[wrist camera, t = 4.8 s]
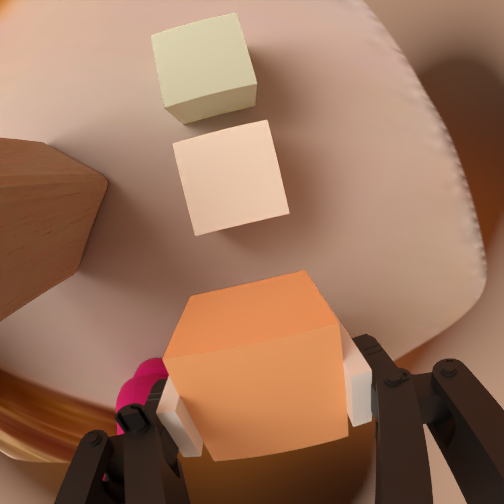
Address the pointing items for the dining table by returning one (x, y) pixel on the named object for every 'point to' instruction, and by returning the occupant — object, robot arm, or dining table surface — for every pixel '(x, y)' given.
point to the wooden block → (42, 218)
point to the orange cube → (260, 368)
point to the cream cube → (231, 177)
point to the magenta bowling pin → (140, 385)
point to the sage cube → (204, 68)
